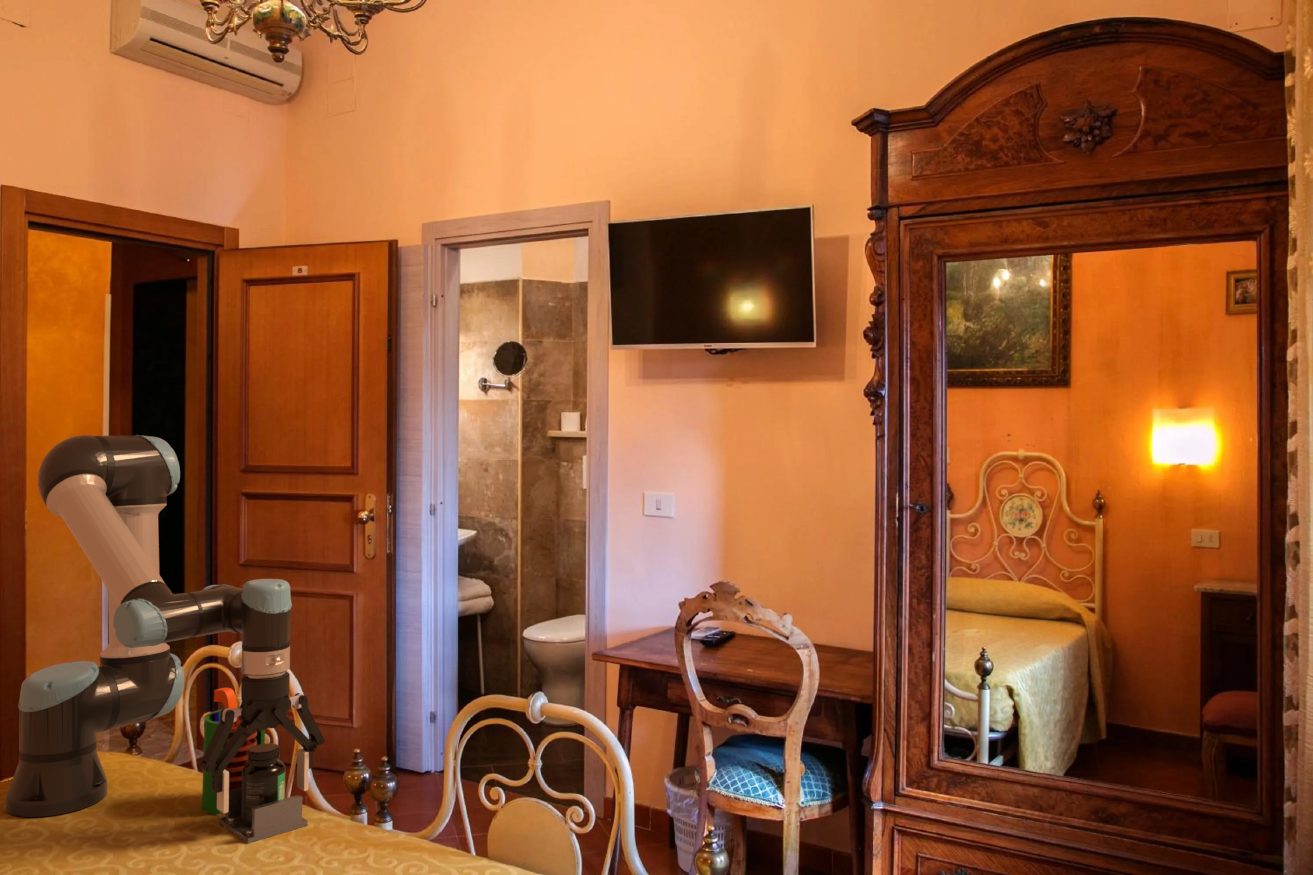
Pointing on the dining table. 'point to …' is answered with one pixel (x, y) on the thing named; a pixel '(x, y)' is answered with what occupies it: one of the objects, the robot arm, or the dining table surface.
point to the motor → (238, 760)
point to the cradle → (264, 817)
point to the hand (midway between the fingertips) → (263, 799)
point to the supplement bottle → (261, 779)
